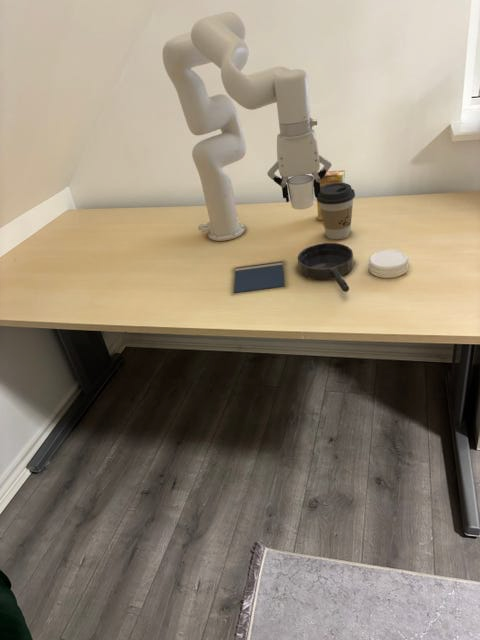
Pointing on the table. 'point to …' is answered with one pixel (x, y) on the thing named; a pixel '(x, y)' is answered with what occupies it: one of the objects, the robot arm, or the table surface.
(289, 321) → the table surface
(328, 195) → the coffee cup
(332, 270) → the pan handle
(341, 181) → the candy box
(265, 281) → the cloth
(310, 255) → the pan
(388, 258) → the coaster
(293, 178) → the white cup
